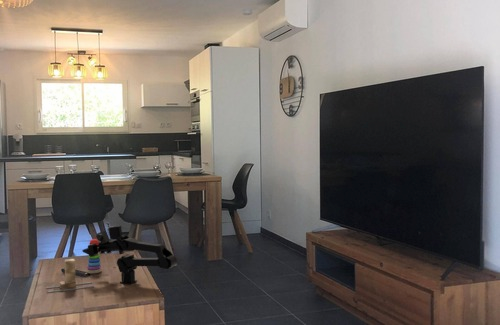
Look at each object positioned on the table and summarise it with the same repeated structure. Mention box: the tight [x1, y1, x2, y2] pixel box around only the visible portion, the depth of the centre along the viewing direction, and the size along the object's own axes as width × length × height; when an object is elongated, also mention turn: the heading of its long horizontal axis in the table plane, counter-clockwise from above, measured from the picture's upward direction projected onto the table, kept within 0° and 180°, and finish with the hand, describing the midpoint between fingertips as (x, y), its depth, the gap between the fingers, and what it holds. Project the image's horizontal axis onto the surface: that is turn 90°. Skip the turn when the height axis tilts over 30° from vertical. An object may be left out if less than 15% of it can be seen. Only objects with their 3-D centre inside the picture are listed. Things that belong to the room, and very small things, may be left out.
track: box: [45, 281, 94, 294], centre depth 265 cm, size 22×8×1 cm, turn 114°
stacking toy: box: [86, 238, 102, 274], centre depth 298 cm, size 8×8×19 cm
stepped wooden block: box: [59, 258, 77, 290], centre depth 264 cm, size 7×6×14 cm
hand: (88, 249), depth 284 cm, fingers open, 9 cm apart
